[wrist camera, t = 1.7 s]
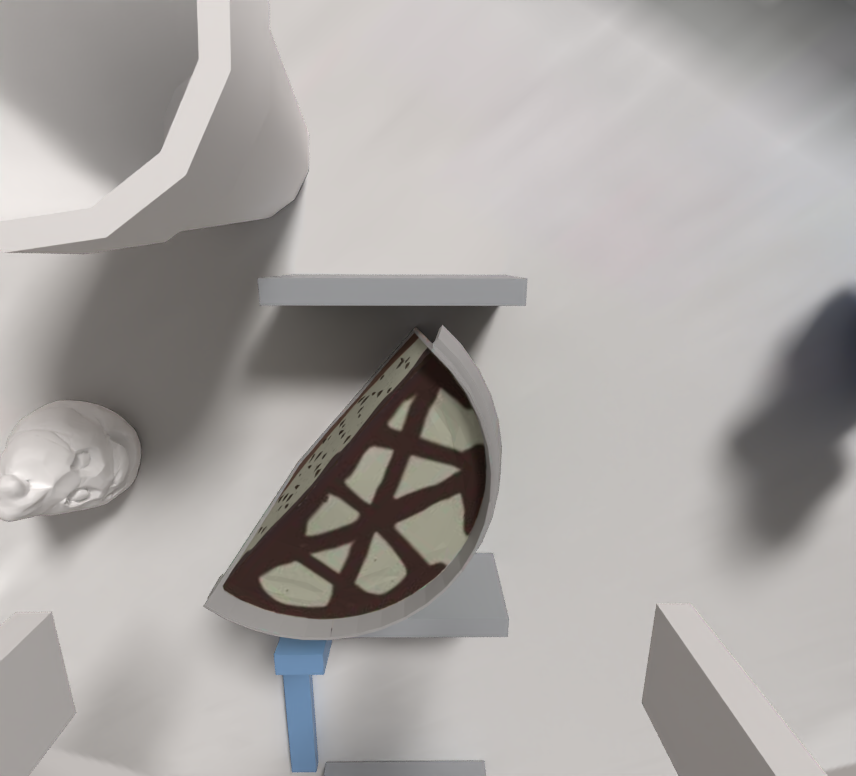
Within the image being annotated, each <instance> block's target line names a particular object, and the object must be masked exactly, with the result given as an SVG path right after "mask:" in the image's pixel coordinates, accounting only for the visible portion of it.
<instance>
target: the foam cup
mask: <svg viewBox="0 0 856 776" xmlns="http://www.w3.org/2000/svg"><path fill="white" fill-rule="evenodd" d="M309 145H310V135H309V133H308V129H307V126H306V123H305V121H304V118H303V115H302V113H301V110H300V107H299V105H298V102H297V99H296V97H295V94H294V91H293V89H292V86H291V84H290V81H289V78H288V76H287V73H286V70H285V68H284V65H283V62H282V60H281V57H280V54H279V52H278V49H277V46H276V44H275V41H274V38H273V36H272V33H271V30H270V3H269V1H268V0H0V251H2V252H5V253H51V254H89V253H96V252H102V251H109V250H116V249H123V248H129V247H136V246H143V245H150V244H156V243H163V242H167V241H168V240H170V239H171V238H172V237H173V236H175V235H176V234H177V233H179V232H181V231H187V230H194V229H200V228H207V227H214V226H220V225H227V224H233V223H240V222H246V221H253V220H260V219H266V218H270V217H272V216H273V215H274V214H276V213H277V212H278V211H280V210H281V209H282V208H284V207H285V206H286V205H288V204H289V203H290V202H292V201H293V200H294V199H295V198H296V196H297V194H298V192H299V190H300V188H301V186H302V184H303V181H304V179H305V177H306V175H307V173H308V171H309Z"/></svg>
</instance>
